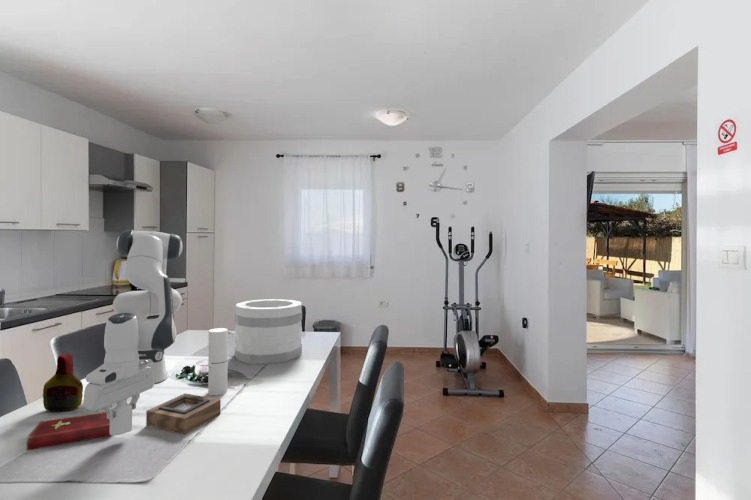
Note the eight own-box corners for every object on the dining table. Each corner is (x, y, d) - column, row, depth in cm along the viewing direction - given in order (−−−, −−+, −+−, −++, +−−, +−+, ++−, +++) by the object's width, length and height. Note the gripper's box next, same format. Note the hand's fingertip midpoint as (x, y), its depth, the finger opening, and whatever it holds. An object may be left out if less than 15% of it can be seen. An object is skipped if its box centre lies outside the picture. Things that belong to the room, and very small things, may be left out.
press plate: (165, 413, 131) (165, 410, 131) (184, 404, 139) (184, 401, 139) (184, 417, 128) (184, 414, 128) (202, 407, 136) (202, 405, 136)
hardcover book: (113, 437, 122) (113, 423, 122) (26, 452, 113) (26, 437, 113) (119, 421, 133) (119, 409, 133) (40, 433, 124) (40, 420, 123)
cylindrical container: (220, 396, 154) (221, 332, 154) (204, 394, 156) (204, 331, 155) (230, 389, 161) (231, 328, 161) (215, 387, 163) (215, 327, 162)
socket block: (146, 425, 129) (146, 409, 129) (184, 406, 144) (184, 391, 144) (184, 434, 123) (184, 417, 123) (220, 413, 139) (220, 398, 138)
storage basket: (294, 364, 195) (294, 309, 194) (223, 363, 195) (224, 308, 195) (307, 346, 230) (307, 299, 229) (247, 345, 230) (248, 298, 230)
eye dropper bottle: (113, 429, 120) (114, 390, 120) (133, 428, 121) (135, 389, 121) (106, 436, 116) (108, 395, 116) (127, 435, 117) (129, 394, 117)
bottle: (87, 405, 144) (87, 350, 144) (75, 412, 138) (75, 356, 137) (51, 406, 143) (51, 351, 142) (38, 414, 136) (38, 356, 136)
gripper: (144, 357, 129) (144, 398, 130) (79, 377, 110) (79, 426, 110) (159, 359, 127) (159, 401, 128) (95, 381, 108) (95, 430, 108)
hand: (121, 413), depth 119 cm, fingers closed on eye dropper bottle, 5 cm apart
